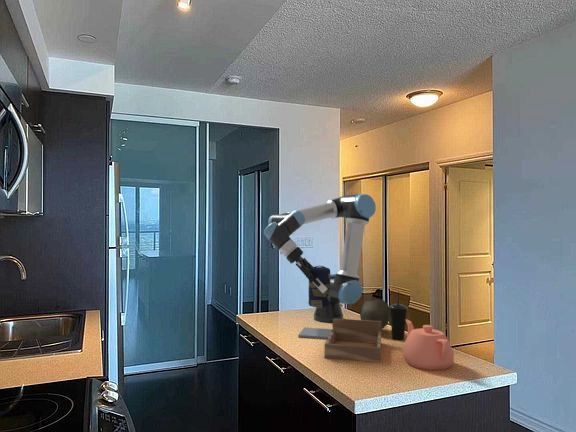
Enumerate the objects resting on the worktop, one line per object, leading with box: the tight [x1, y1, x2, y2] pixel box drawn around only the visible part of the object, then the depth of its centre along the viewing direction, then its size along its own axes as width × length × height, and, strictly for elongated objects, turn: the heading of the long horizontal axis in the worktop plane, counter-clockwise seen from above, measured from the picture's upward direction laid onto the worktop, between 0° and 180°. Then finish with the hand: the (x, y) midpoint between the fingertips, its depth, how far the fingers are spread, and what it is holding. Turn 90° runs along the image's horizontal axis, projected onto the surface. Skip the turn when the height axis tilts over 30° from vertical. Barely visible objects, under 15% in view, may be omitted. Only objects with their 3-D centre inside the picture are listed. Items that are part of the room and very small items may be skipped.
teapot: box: [402, 318, 455, 371], centre depth 158 cm, size 25×17×13 cm
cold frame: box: [323, 318, 382, 363], centre depth 172 cm, size 26×20×9 cm
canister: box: [307, 265, 331, 308], centre depth 193 cm, size 10×10×18 cm
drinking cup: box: [388, 291, 408, 341], centre depth 190 cm, size 8×8×20 cm
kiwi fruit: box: [359, 297, 391, 330], centre depth 202 cm, size 14×14×15 cm
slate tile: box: [297, 327, 333, 340], centre depth 195 cm, size 14×14×1 cm
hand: (326, 289), depth 192 cm, fingers closed on canister, 9 cm apart
